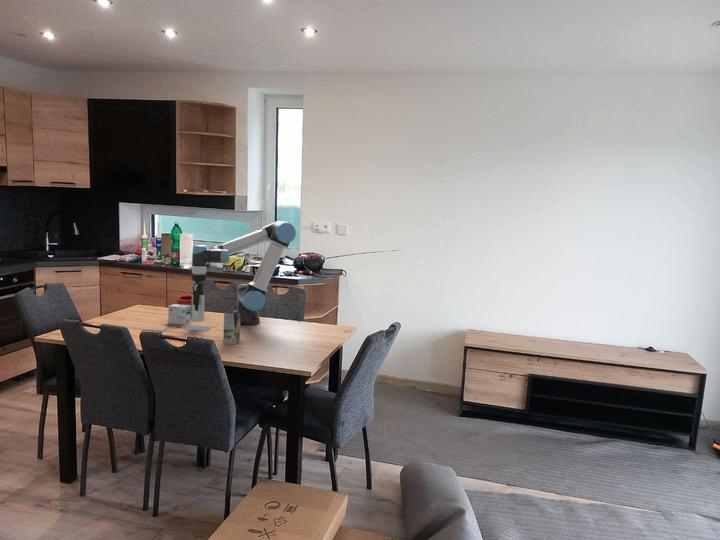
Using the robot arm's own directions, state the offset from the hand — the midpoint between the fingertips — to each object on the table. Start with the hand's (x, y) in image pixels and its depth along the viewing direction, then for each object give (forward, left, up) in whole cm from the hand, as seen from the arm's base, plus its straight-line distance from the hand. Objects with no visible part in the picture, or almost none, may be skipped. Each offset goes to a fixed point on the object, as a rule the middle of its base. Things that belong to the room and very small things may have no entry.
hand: (197, 315), depth 302 cm
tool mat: (0, 0, -8) cm, 8 cm away
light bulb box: (+14, -11, -8) cm, 20 cm away
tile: (+15, +9, -7) cm, 19 cm away
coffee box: (-24, +22, -8) cm, 34 cm away
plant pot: (+15, -30, -8) cm, 35 cm away
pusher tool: (0, 0, -3) cm, 3 cm away
